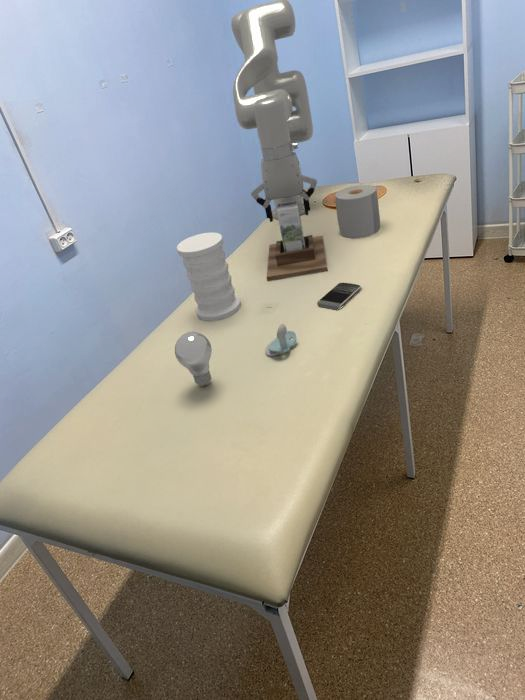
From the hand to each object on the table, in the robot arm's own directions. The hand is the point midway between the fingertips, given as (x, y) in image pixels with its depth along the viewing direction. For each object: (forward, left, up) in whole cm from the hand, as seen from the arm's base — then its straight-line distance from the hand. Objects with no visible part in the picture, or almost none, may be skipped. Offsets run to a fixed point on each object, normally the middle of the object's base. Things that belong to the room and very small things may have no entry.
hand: (289, 216), depth 134 cm
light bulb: (+54, -19, -12) cm, 58 cm away
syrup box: (0, 0, -11) cm, 11 cm away
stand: (+1, 0, -12) cm, 12 cm away
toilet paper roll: (-12, +19, -12) cm, 26 cm away
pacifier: (+45, -4, -13) cm, 47 cm away
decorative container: (+23, -20, -12) cm, 33 cm away
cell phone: (+27, +10, -13) cm, 31 cm away
